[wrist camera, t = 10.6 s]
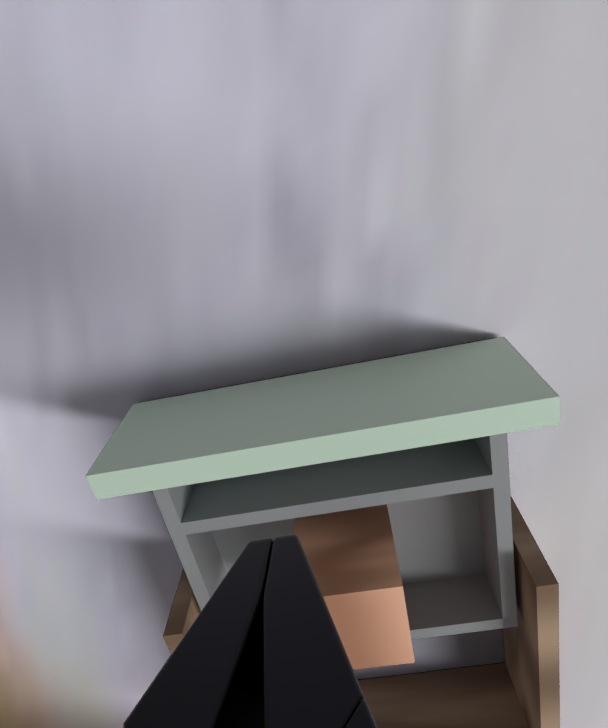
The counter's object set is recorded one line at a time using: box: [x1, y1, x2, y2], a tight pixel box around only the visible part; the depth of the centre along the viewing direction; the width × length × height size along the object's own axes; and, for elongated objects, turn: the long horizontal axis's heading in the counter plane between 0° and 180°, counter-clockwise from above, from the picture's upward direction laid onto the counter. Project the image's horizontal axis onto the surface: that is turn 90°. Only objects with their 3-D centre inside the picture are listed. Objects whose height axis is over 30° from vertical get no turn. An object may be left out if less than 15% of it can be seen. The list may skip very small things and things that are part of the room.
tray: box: [85, 337, 560, 640], centre depth 21 cm, size 12×15×5 cm
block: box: [294, 504, 415, 670], centre depth 21 cm, size 4×4×5 cm
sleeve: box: [163, 497, 560, 728], centre depth 25 cm, size 12×15×5 cm
